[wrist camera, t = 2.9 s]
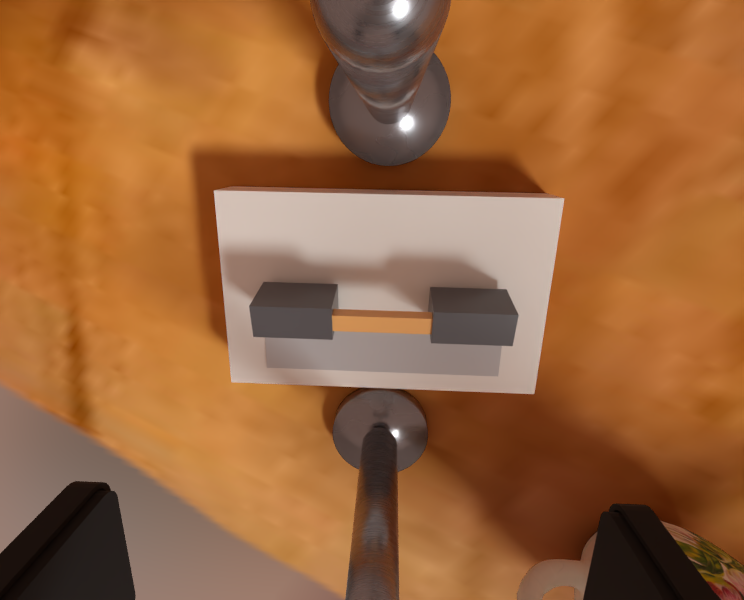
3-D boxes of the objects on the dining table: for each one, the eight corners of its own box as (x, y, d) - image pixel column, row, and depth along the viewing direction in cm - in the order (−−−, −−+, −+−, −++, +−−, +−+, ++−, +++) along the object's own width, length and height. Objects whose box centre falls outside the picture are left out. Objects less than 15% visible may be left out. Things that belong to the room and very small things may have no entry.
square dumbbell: (263, 281, 21) (249, 306, 19) (506, 289, 21) (518, 315, 19) (266, 310, 22) (253, 336, 20) (501, 318, 22) (512, 346, 20)
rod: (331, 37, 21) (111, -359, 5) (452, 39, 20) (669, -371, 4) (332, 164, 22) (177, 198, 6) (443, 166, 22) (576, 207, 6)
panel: (232, 186, 23) (213, 190, 21) (546, 193, 22) (565, 198, 20) (246, 361, 26) (230, 383, 24) (521, 371, 26) (535, 395, 23)
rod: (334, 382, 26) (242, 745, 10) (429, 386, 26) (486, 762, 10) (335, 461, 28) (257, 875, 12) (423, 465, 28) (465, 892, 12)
